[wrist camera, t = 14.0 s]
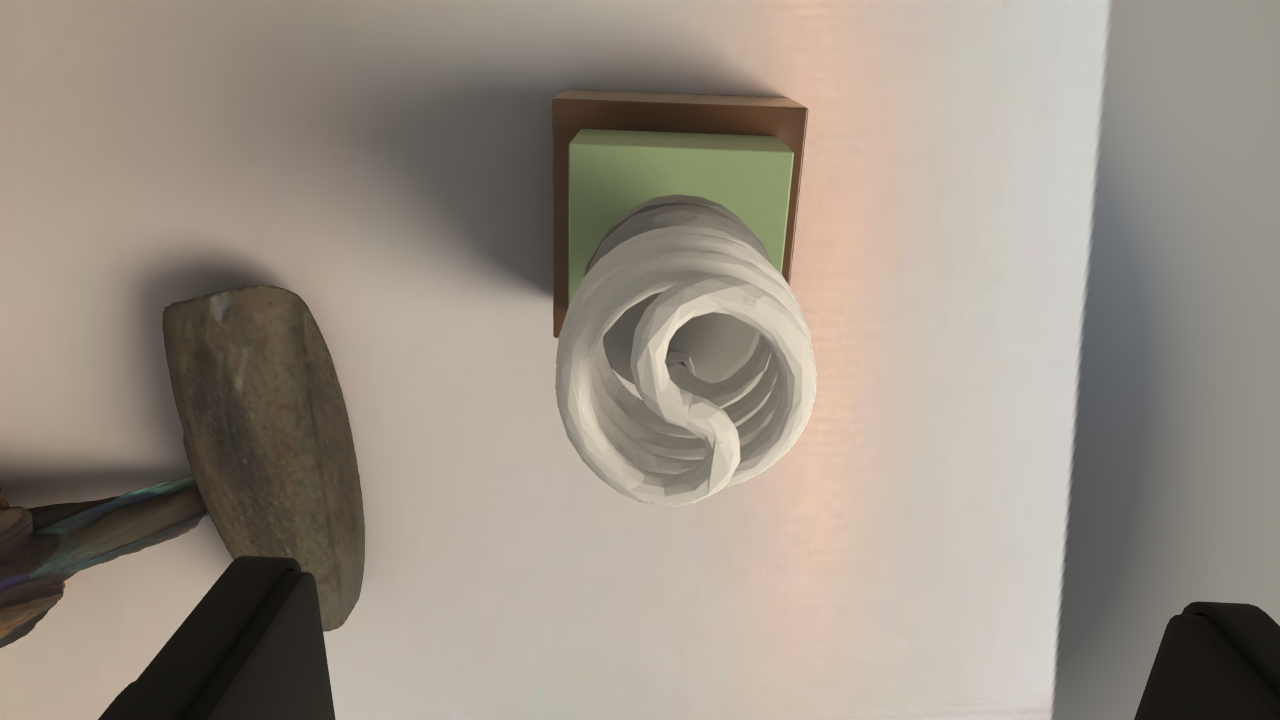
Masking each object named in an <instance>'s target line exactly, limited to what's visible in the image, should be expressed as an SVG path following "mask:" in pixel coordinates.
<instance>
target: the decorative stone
mask: <svg viewBox="0 0 1280 720" xmlns="http://www.w3.org/2000/svg"><path fill="white" fill-rule="evenodd" d="M163 334H164V341H165V349H166V356H167V362H168V367H169V373H170V378H171V383H172V388H173V393H174V398H175V403H176V406H177V409H178V413H179V417H180V420H181V423H182V427H183V431H184V445H185V450H186V453H187V457H188V460H189V463H190V467H191V470H192V473H193V475H194V478H195V481H196V484H197V487H198V489H199V492H200V494H201V496H202V498H203V500H204V503H205V505H206V507H207V510H208V512H209V515H210V517H211V519H212V521H213V523H214V525H215V526H216V528H217V530H218V532H219V534H220V536H221V538H222V540H223V541H224V543H225V545H226V548H227V550H228V551H229V552H230V554H231V555H232V557H233V559H234V560H235V559H236V558H237V557H240V556H243V555H246V556H267V557H287V558H293V559H296V560H297V562H298V563H299V565H300V568H301V572H310V573H312V574H313V576H314V577H315V581H316V586H317V593H318V600H319V608H320V615H321V622H322V629H323V632H324V631H331V630H333V629H337V628H339V627H340V626H342V625H343V624H344V622H345V621H346V620H347V618H348V616H349V615H350V613H351V611H352V610H353V608H354V606H355V604H356V603H357V601H358V599H359V596H360V591H361V586H362V580H363V571H364V560H365V526H364V515H363V503H362V492H361V487H360V478H359V473H358V466H357V460H356V455H355V450H354V444H353V439H352V433H351V428H350V424H349V418H348V414H347V410H346V406H345V402H344V398H343V394H342V390H341V387H340V384H339V381H338V378H337V375H336V371H335V368H334V364H333V361H332V358H331V355H330V353H329V350H328V348H327V345H326V343H325V341H324V338H323V336H322V334H321V332H320V330H319V327H318V325H317V323H316V321H315V319H314V317H313V316H312V314H311V312H310V310H309V308H308V306H307V305H306V303H305V302H304V301H303V300H302V299H301V298H300V296H298V295H297V294H295V293H293V292H291V291H289V290H285V289H282V288H279V287H274V286H252V287H243V288H238V289H234V290H231V291H222V292H218V293H213V294H208V295H204V296H202V297H197V298H193V299H190V300H187V301H180V302H174V303H172V304H171V305H169V306H167V307H165V309H164V311H163Z"/></svg>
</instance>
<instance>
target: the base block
mask: <svg viewBox="0 0 1280 720" xmlns="http://www.w3.org/2000/svg"><path fill="white" fill-rule="evenodd" d="M807 117H808V108H806V107H804V106H803V105H801V104H799V103H797V102H795V101H793V100H791V99H790V98H779V97H752V96H726V95H700V94H673V93H647V92H620V91H594V90H566V91H564V92H562V93H561V94H559V95H558V96H556V97H555V98H553V100H552V130H553V318H554V337H555V338H559V335H560V332H561V329H562V326H563V323H564V320H565V317H566V314H567V311H568V308H569V144H570V142H571V141H572V140H573V139H574V137H575V136H576V135H577V133H578V132H579V131H580V130H581V129H599V130H625V131H651V132H677V133H704V134H730V135H756V136H776V137H778V138H779V139H780V140H781V141H782V142H783V143H784V144H785V145H786V146H787V147H789V148H790V149H791V150H792V151H793V152H794V159H793V169H792V179H791V188H790V198H789V208H788V218H787V227H786V237H785V247H784V257H783V266H782V276H783V277H784V279H785V280H786V282H787V283H788V285H789V286H790V276H791V267H792V257H793V248H794V239H795V229H796V220H797V211H798V201H799V192H800V183H801V173H802V164H803V154H804V145H805V136H806V126H807Z"/></svg>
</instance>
